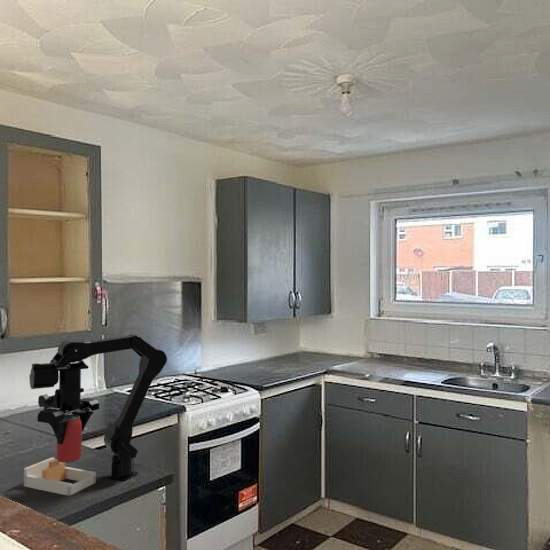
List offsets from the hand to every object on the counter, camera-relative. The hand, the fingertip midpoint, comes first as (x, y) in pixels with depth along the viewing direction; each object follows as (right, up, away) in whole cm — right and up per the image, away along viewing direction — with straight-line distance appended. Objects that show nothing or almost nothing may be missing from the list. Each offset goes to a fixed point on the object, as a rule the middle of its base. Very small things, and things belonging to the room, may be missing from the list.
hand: (69, 440), depth 159 cm
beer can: (0, -6, 0) cm, 6 cm away
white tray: (-3, -13, +1) cm, 13 cm away
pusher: (-5, -13, +2) cm, 14 cm away
